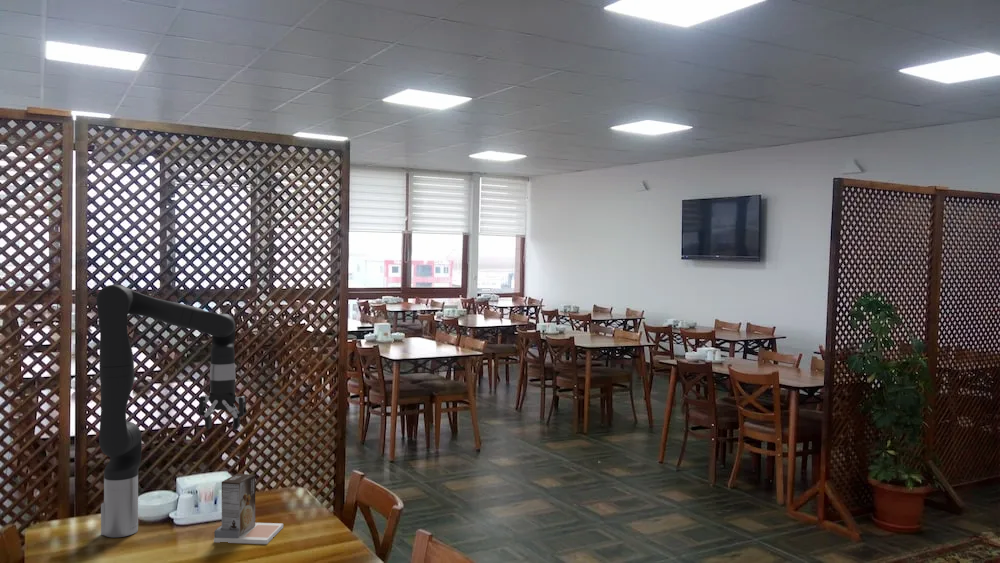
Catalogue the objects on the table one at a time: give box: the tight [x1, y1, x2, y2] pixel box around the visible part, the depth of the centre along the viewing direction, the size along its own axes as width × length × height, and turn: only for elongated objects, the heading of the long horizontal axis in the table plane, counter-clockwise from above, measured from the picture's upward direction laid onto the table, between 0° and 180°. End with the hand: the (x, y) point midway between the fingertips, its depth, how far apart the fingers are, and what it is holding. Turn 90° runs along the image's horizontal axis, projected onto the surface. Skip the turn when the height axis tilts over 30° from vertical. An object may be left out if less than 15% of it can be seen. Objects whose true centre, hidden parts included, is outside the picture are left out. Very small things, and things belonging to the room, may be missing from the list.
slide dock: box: [213, 522, 284, 545], centre depth 229 cm, size 16×14×3 cm
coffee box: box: [221, 473, 256, 536], centre depth 229 cm, size 9×6×16 cm
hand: (222, 429), depth 237 cm, fingers open, 8 cm apart
